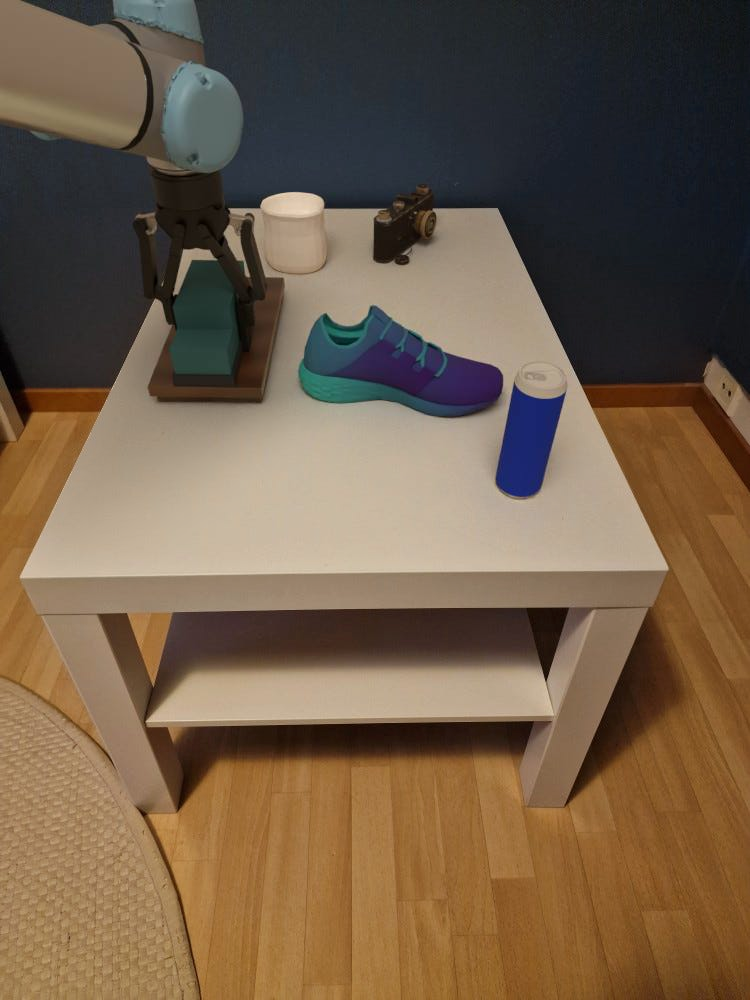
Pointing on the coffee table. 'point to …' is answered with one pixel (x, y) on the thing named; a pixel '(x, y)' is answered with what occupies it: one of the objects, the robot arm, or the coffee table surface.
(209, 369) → the teal stepped block
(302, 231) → the cup
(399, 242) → the camera
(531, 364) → the beverage can
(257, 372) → the brown wooden board
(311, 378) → the sneaker
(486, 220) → the coffee table surface
